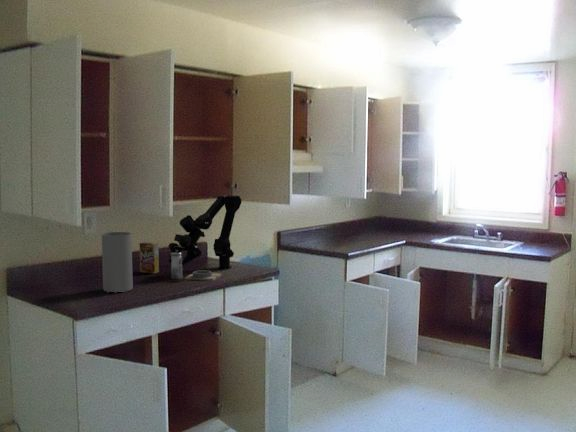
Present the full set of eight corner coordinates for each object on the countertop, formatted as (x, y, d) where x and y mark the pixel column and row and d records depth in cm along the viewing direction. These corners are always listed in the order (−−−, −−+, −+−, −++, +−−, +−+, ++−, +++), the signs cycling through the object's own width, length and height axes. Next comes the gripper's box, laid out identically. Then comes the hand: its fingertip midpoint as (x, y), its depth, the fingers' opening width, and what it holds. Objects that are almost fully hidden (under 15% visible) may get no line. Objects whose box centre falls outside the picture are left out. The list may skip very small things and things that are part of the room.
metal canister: (174, 276, 287) (173, 251, 285) (184, 277, 286) (184, 251, 284) (169, 278, 281) (168, 253, 280) (180, 279, 280) (179, 253, 279)
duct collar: (196, 273, 289) (196, 269, 288) (214, 274, 287) (214, 270, 286) (190, 277, 280) (190, 273, 280) (207, 278, 278) (207, 274, 278)
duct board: (195, 273, 294) (195, 271, 294) (222, 275, 291) (222, 273, 291) (185, 279, 280) (185, 277, 280) (212, 280, 277) (212, 278, 277)
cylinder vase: (101, 288, 260) (99, 232, 258) (129, 285, 266) (128, 231, 263) (105, 294, 249) (104, 236, 247) (135, 291, 255) (134, 234, 252)
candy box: (139, 272, 296) (138, 242, 295) (144, 271, 300) (143, 241, 299) (154, 273, 293) (153, 243, 292) (159, 272, 297) (158, 242, 296)
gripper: (170, 226, 290) (153, 251, 283) (197, 229, 279) (179, 255, 271) (182, 240, 297) (166, 265, 290) (208, 244, 286) (192, 269, 278)
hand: (175, 263), depth 282 cm, fingers open, 9 cm apart
